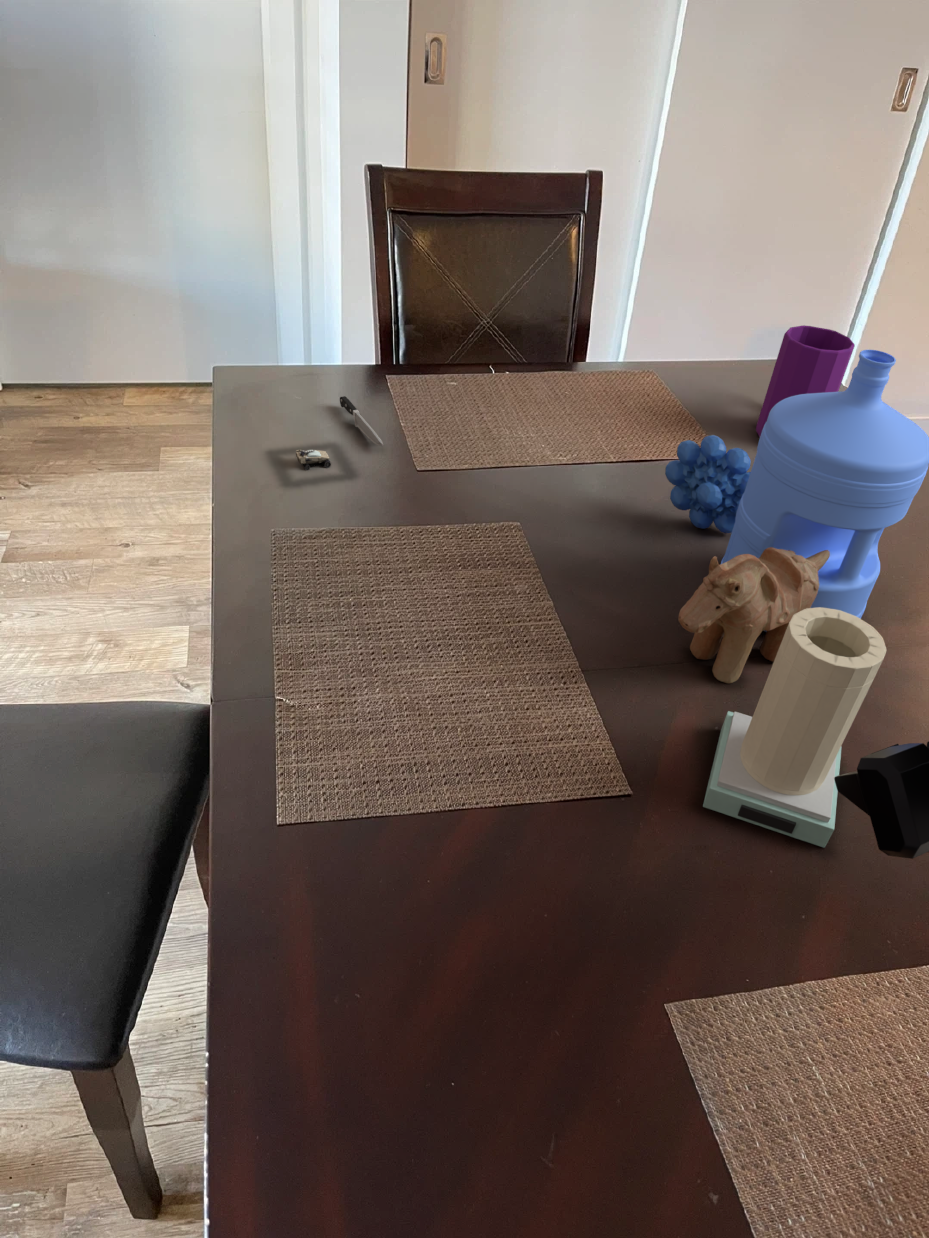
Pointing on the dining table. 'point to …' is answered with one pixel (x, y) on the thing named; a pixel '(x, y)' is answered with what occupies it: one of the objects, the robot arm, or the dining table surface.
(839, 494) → the water jug
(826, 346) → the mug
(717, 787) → the scale
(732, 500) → the blue knobby flower
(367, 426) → the knife
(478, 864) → the dining table surface
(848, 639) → the jar
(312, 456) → the toy car
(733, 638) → the figurine
